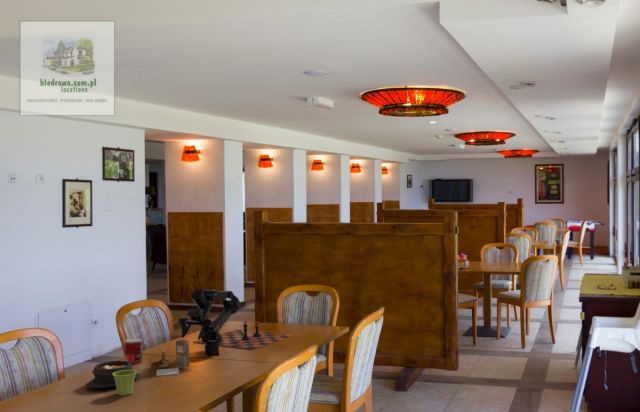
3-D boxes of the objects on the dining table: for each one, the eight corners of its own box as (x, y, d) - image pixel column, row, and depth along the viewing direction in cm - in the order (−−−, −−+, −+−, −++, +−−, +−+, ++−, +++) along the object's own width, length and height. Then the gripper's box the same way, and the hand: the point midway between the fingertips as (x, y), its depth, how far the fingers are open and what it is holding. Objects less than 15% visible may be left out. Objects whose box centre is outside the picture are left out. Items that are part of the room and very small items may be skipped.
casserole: (106, 394, 278) (106, 374, 277) (75, 389, 287) (74, 369, 286) (149, 379, 299) (149, 360, 299) (119, 374, 308) (118, 356, 308)
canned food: (138, 364, 325) (137, 341, 325) (122, 364, 327) (121, 341, 326) (145, 360, 333) (144, 338, 332) (130, 360, 334) (129, 338, 334)
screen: (168, 359, 333) (167, 347, 333) (168, 366, 320) (167, 354, 319) (159, 360, 332) (159, 348, 332) (159, 367, 319) (159, 354, 318)
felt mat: (178, 368, 316) (178, 367, 316) (179, 374, 306) (179, 373, 306) (156, 370, 313) (156, 369, 313) (156, 376, 304) (156, 375, 304)
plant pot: (116, 391, 282) (115, 370, 282) (139, 389, 283) (138, 369, 283) (111, 397, 273) (110, 376, 272) (134, 396, 273) (134, 375, 273)
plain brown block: (181, 365, 321) (180, 339, 321) (189, 366, 319) (188, 340, 319) (176, 367, 317) (175, 341, 317) (184, 368, 315) (183, 341, 315)
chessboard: (252, 350, 349) (251, 329, 349) (193, 343, 370) (193, 323, 370) (295, 336, 383) (294, 317, 383) (239, 330, 404) (239, 312, 404)
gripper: (179, 301, 332) (166, 327, 322) (211, 302, 325) (199, 330, 315) (189, 314, 339) (176, 340, 330) (221, 316, 332) (209, 343, 322)
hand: (190, 338), depth 324 cm, fingers open, 9 cm apart
